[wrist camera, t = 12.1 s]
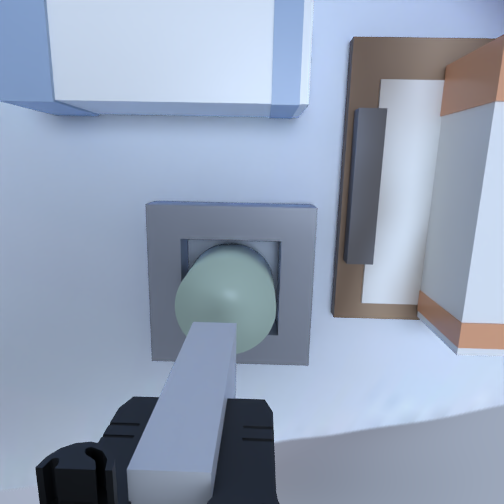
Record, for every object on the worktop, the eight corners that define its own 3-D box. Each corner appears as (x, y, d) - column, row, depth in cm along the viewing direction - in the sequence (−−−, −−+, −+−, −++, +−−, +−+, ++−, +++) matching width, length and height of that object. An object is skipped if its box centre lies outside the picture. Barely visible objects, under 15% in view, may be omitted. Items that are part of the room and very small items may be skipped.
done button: (189, 323, 22) (176, 353, 19) (188, 242, 21) (173, 257, 17) (272, 326, 22) (274, 356, 18) (275, 244, 21) (278, 260, 17)
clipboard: (331, 312, 23) (337, 324, 21) (350, 41, 20) (358, 29, 18) (565, 318, 23) (590, 331, 21) (623, 45, 20) (659, 33, 18)
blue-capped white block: (302, 22, 20) (315, -23, 15) (298, 119, 21) (309, 106, 16) (47, 19, 20) (-18, -26, 15) (56, 115, 21) (-3, 100, 16)
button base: (161, 344, 24) (152, 360, 22) (155, 200, 22) (145, 204, 20) (304, 349, 24) (308, 365, 22) (312, 204, 22) (317, 208, 20)
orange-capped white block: (499, 319, 22) (563, 360, 17) (415, 316, 22) (456, 357, 17) (543, 67, 19) (635, 35, 14) (446, 65, 19) (506, 33, 14)
